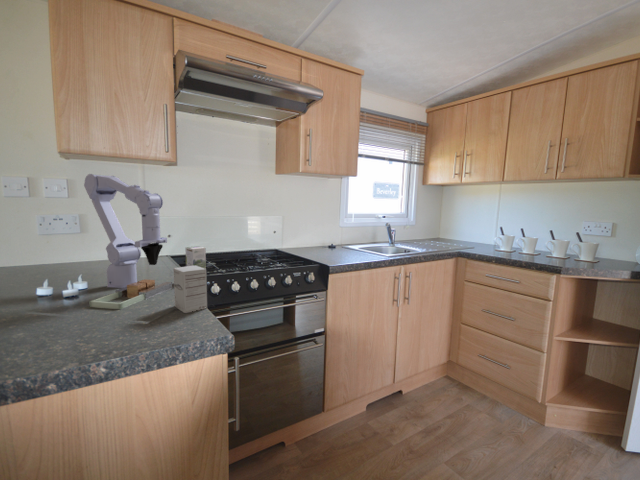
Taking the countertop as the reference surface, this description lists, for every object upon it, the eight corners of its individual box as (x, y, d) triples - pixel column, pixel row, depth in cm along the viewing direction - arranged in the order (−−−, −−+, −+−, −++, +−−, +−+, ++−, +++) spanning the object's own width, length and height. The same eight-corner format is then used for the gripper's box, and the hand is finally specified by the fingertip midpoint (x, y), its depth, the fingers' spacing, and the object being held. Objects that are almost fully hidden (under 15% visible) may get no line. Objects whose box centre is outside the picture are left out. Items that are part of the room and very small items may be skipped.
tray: (89, 308, 97) (89, 301, 97) (117, 298, 107) (116, 292, 107) (120, 311, 95) (120, 303, 95) (145, 300, 106) (145, 293, 105)
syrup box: (198, 279, 135) (197, 245, 133) (206, 282, 131) (205, 247, 129) (186, 282, 130) (184, 247, 129) (193, 284, 127) (192, 248, 125)
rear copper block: (137, 293, 112) (136, 282, 111) (145, 290, 116) (144, 279, 115) (147, 293, 111) (146, 282, 111) (155, 290, 115) (154, 279, 115)
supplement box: (174, 307, 99) (172, 267, 97) (197, 302, 104) (196, 264, 103) (183, 314, 94) (182, 271, 92) (208, 308, 99) (206, 268, 97)
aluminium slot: (114, 298, 107) (114, 290, 107) (144, 287, 121) (143, 280, 120) (146, 300, 105) (146, 292, 105) (173, 289, 119) (172, 282, 119)
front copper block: (127, 296, 107) (126, 285, 107) (136, 293, 111) (135, 282, 111) (138, 297, 107) (137, 285, 106) (146, 294, 111) (145, 283, 110)
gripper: (147, 229, 107) (148, 269, 108) (173, 226, 121) (175, 261, 123) (128, 228, 108) (130, 268, 110) (156, 225, 122) (158, 260, 124)
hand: (152, 264), depth 116 cm, fingers closed
